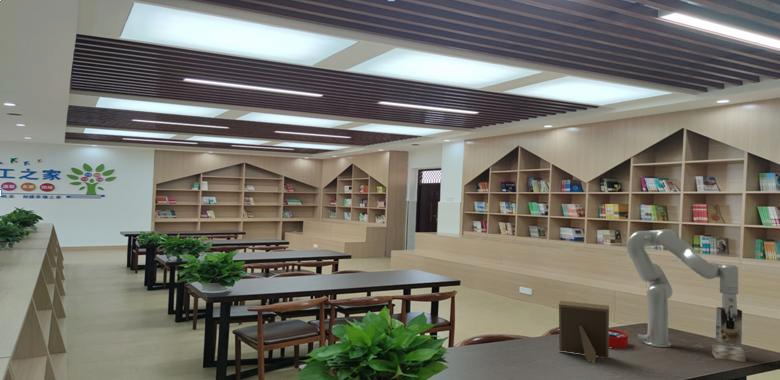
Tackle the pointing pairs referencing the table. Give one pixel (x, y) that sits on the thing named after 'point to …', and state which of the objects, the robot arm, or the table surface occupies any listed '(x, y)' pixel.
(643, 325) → the table surface
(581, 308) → the photo frame
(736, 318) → the coffee box
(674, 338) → the table surface
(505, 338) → the table surface
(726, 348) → the stand
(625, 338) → the toy clock
